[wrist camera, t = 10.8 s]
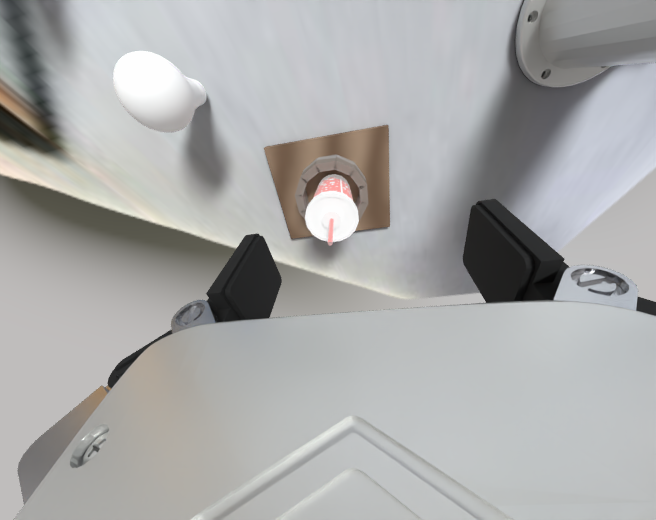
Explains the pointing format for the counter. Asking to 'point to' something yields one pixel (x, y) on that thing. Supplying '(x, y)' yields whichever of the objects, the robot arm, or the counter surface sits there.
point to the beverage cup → (332, 210)
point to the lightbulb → (156, 91)
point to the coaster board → (334, 158)
